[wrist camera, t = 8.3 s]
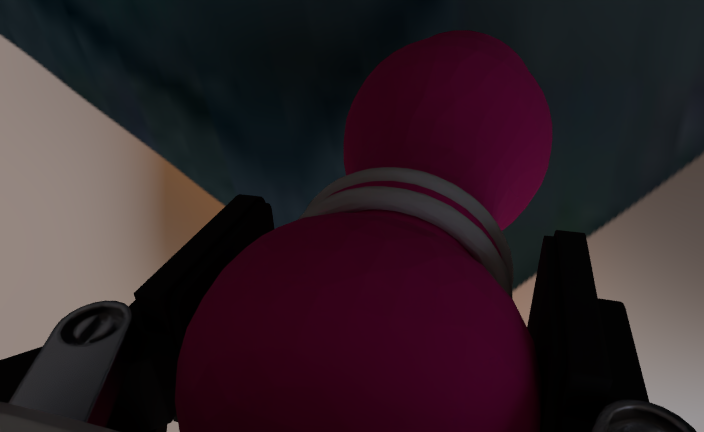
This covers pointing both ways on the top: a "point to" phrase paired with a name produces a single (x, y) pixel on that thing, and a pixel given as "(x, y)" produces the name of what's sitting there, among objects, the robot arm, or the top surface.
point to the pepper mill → (389, 267)
